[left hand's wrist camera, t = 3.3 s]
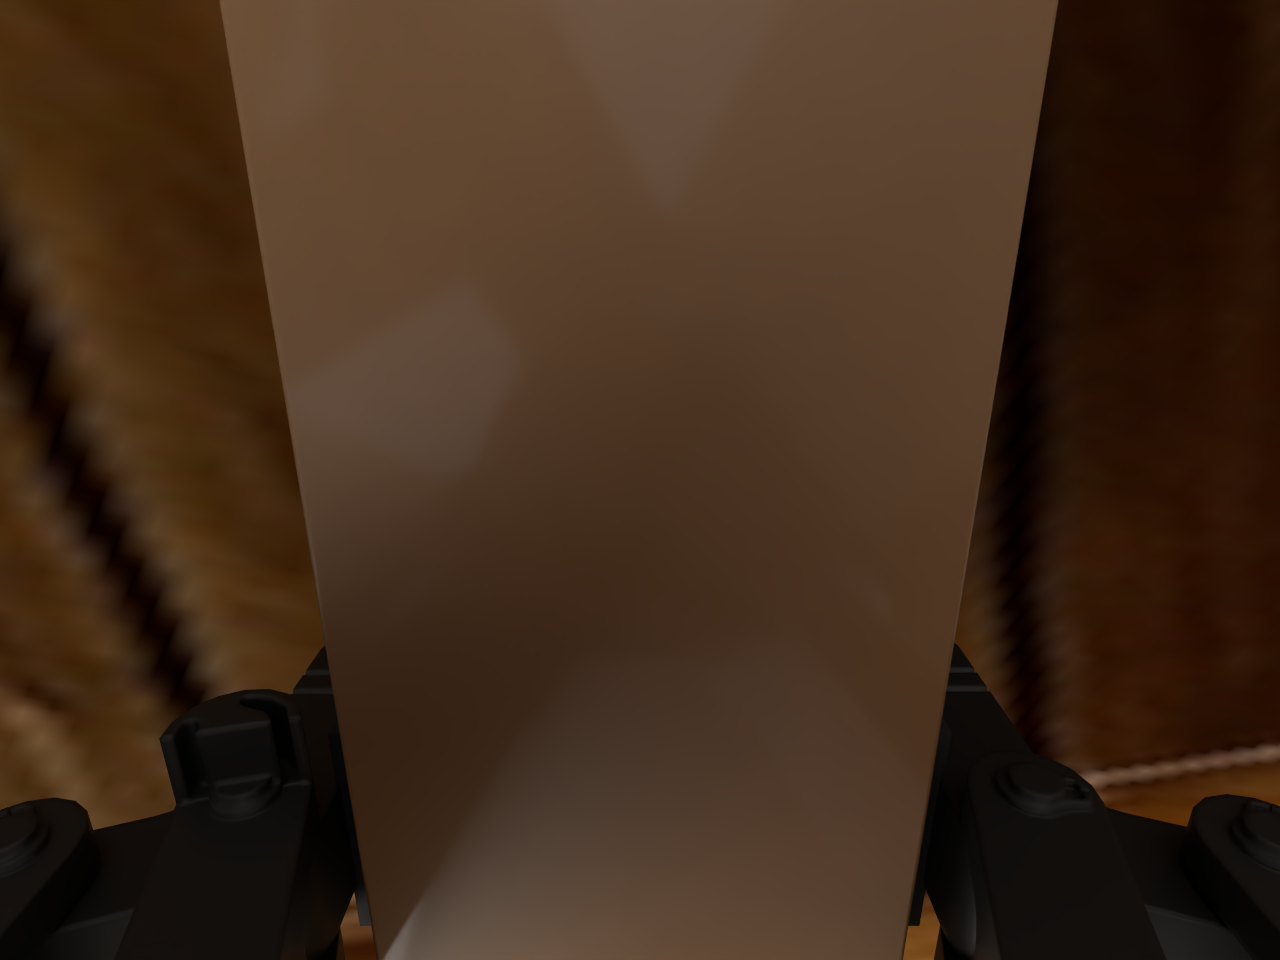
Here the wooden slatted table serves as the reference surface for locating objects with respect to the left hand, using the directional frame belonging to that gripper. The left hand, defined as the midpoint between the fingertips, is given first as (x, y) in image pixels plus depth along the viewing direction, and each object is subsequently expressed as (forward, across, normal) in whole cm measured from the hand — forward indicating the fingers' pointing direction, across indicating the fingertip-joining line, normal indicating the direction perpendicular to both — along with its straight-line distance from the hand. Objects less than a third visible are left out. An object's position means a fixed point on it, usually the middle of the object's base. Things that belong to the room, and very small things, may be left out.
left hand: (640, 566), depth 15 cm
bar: (+1, 0, -13) cm, 13 cm away
